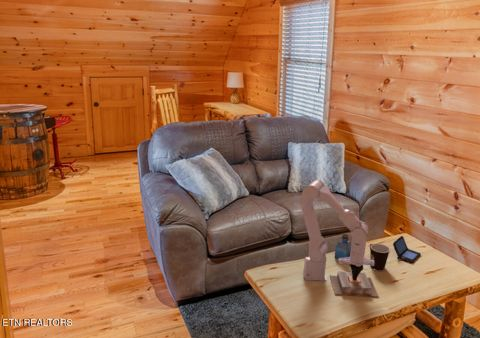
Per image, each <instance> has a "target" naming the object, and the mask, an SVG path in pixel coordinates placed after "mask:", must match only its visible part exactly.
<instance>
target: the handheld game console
mask: <svg viewBox="0 0 480 338" xmlns="http://www.w3.org/2000/svg"><path fill="white" fill-rule="evenodd" d="M405 240H406V239H405V238H404V236H403V235H400V237H399V238H397V239H396V240H395V241H394V242H393V243H392V246H393V248H394V251H395V253H396V256H397V258H396V259H397V260H401V261H403V262H405V263H409V264H413V263H415V261H417V260H418V259H419V257H420V256H421V252H418V251H415V250H412V249H410V248H409V247H408V246H407V243H406V241H405Z"/></svg>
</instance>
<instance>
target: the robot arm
mask: <svg viewBox="0 0 480 338" xmlns="http://www.w3.org/2000/svg"><path fill="white" fill-rule="evenodd" d="M316 199H317V200H316ZM315 201H317V202H325V203H327V204H328V206H329V207H330V208H331V209H332V210H334V211H335V212H336V213H337V214H338V218H339V220H340V221H341V223H342V224H343V225H344V226H345V227H346V228H347V229H348V230H349V231H350V233H351V238H352V239H351V252H350V257H346V258H339V259H338V264H339V265H345V264H347V265H349V267H350V270H351V271H350V272H352V278H353V280H357V277H358V275H359V273H362V271H363V270H364V266H370V265H371V266H374V260H371V259H369V258H365V253H366V245H367V234H368V233H369V226H368V224H367V222H364V221H362V220H360V219H359V218H358V217H357V216H356V215H355V212H354V211H353V210H352V211H351V210H350V209H346V208H344V206H343V205H342V203H341V202H340V201H339V200H338V199H337V198H336V196H335V195H334V194H333V193H332V192H331V190H330V188H329V186H327V185H326V184H325V183H324V182H323V181H322V180H320V179H314V180H313V181H311V182H310V184H308V185H307V186H305V187H304V189H303V190H302V194H301V197H300V201H299V204H300V207H301V212H302V216H303V218H304V223H305V227H306V231H307V234H308V238H309V242H308V249H309V250H308V256H304V263H303V275H304V279H305V280H307V281H322V282H326V281H327V276H326V268H327V255H326V254H327V253H328V252H329V247H330V246H329V245H328V243H327V242H326V240H325V238H324V237H323V236H322V233H321V230H320V225H319V221H318V219H317V213H316V211H315V206H314V202H315Z"/></svg>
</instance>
